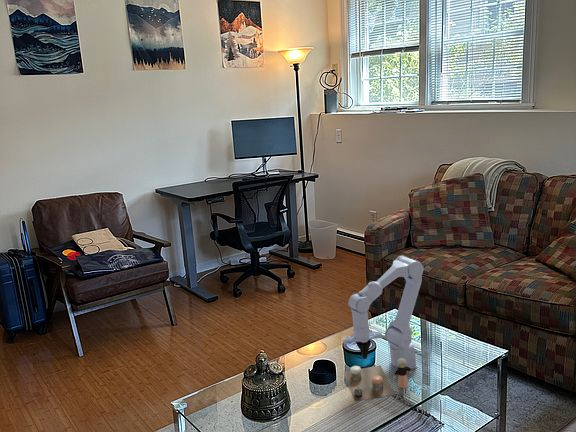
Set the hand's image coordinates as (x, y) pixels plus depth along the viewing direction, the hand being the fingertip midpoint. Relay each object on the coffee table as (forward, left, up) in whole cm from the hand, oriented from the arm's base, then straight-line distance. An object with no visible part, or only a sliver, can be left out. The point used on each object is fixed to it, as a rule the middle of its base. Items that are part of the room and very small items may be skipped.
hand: (364, 357), depth 208 cm
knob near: (-2, +9, -8) cm, 12 cm away
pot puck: (+6, +11, -8) cm, 15 cm away
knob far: (+4, -1, -8) cm, 9 cm away
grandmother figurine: (-12, +10, -10) cm, 18 cm away
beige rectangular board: (0, +4, -10) cm, 10 cm away
